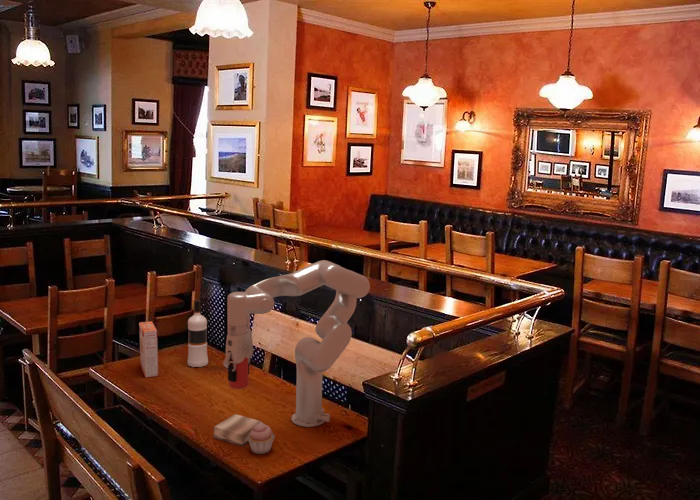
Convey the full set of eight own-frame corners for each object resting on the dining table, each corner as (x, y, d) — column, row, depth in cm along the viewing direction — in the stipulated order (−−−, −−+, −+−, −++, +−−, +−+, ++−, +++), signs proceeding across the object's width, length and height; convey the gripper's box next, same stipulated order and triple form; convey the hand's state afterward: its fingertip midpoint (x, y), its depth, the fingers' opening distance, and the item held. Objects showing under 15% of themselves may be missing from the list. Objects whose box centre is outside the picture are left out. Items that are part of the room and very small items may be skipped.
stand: (263, 431, 234) (263, 421, 234) (242, 446, 223) (242, 435, 223) (235, 423, 240) (235, 413, 239) (213, 437, 229) (213, 426, 228)
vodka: (184, 367, 293) (183, 302, 288) (191, 360, 302) (190, 297, 297) (204, 368, 292) (204, 303, 287) (210, 361, 301) (210, 298, 296)
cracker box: (139, 367, 292) (138, 321, 288) (153, 365, 294) (152, 320, 290) (144, 378, 279) (142, 331, 275) (158, 376, 282) (157, 329, 278)
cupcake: (274, 442, 227) (274, 415, 225) (275, 456, 218) (275, 427, 216) (246, 443, 225) (246, 416, 223) (246, 457, 216) (246, 429, 214)
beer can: (244, 390, 225) (244, 357, 222) (226, 388, 226) (225, 355, 224) (251, 383, 231) (250, 351, 229) (233, 381, 232) (233, 349, 230)
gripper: (231, 336, 215) (232, 388, 218) (262, 323, 230) (262, 372, 234) (213, 333, 219) (214, 383, 222) (244, 320, 234) (244, 367, 237)
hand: (238, 377), depth 228 cm, fingers closed on beer can, 6 cm apart
